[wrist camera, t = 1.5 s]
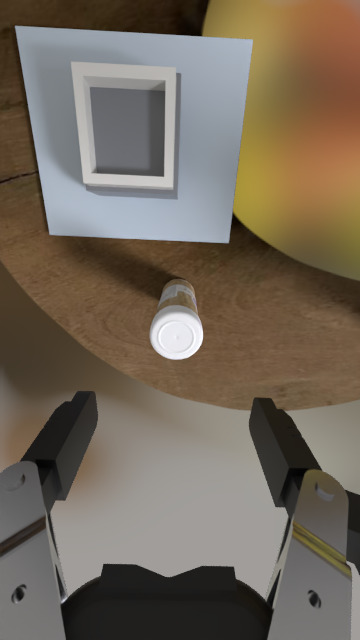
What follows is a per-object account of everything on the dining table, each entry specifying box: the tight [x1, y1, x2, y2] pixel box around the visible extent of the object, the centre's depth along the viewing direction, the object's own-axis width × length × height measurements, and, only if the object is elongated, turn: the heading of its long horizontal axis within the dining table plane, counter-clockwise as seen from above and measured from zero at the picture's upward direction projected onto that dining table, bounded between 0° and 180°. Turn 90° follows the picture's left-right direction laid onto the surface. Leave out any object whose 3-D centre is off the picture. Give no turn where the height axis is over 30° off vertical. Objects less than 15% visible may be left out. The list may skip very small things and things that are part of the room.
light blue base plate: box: [15, 26, 253, 243], centre depth 22 cm, size 22×18×6 cm
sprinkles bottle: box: [150, 279, 203, 359], centre depth 25 cm, size 5×5×13 cm
